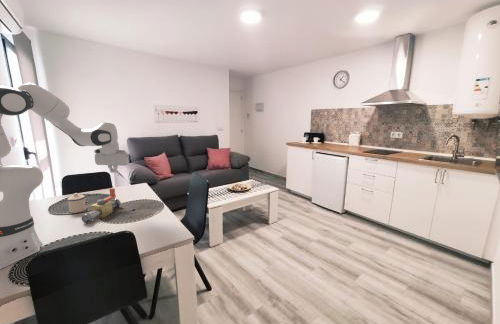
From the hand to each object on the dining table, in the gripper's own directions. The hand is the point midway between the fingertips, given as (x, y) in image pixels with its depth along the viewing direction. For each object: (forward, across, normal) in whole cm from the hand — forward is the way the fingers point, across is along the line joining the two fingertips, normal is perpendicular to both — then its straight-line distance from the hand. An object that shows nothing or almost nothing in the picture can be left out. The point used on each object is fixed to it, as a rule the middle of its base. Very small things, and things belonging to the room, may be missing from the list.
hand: (113, 172), depth 134 cm
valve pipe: (+26, +6, +5) cm, 27 cm away
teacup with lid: (+26, +28, +2) cm, 38 cm away
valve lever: (+18, +6, +1) cm, 19 cm away
